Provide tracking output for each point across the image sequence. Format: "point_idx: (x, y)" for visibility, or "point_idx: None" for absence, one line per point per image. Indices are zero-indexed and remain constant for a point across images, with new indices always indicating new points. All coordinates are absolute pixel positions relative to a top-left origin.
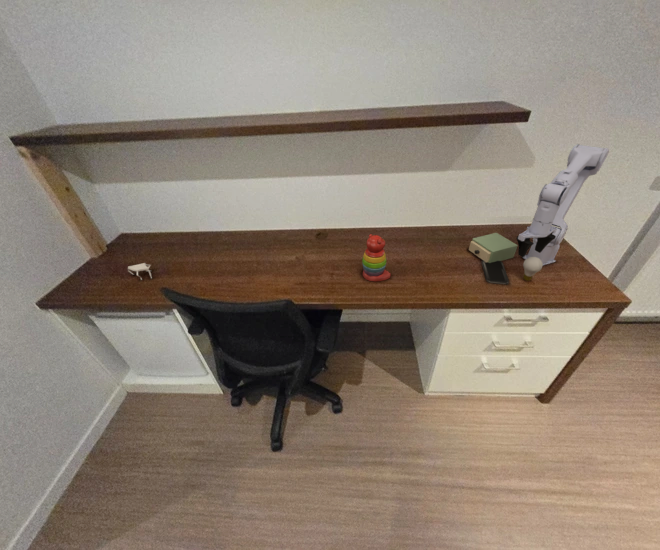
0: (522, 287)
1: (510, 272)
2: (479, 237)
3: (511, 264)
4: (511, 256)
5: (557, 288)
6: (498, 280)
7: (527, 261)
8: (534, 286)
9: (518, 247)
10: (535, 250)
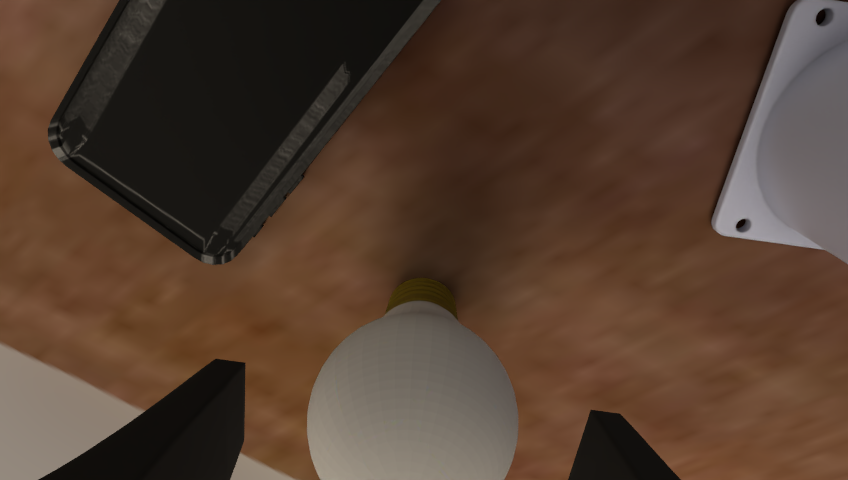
0: (304, 340)
1: (400, 145)
2: None
3: (546, 43)
4: None
5: (530, 463)
6: (158, 192)
7: (322, 425)
8: None
9: (102, 443)
10: (587, 422)
